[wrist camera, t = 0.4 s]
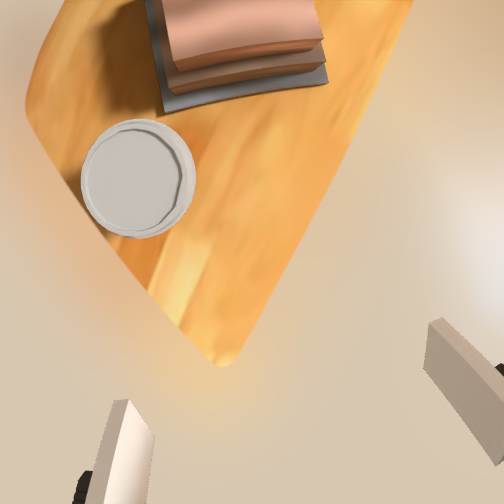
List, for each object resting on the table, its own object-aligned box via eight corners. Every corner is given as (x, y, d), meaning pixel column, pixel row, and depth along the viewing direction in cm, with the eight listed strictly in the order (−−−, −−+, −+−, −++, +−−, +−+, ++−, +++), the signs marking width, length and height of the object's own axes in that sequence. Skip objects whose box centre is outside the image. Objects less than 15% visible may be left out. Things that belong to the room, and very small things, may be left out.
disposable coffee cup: (164, 228, 35) (138, 267, 24) (105, 174, 32) (55, 188, 21) (222, 167, 33) (222, 176, 22) (160, 110, 31) (130, 91, 19)
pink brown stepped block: (143, -14, 25) (123, -54, 16) (290, -37, 25) (308, -79, 16) (166, 113, 31) (146, 100, 22) (325, 84, 31) (360, 65, 22)
